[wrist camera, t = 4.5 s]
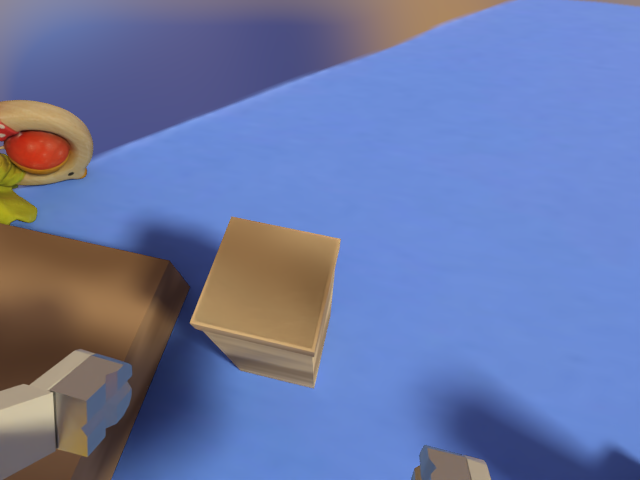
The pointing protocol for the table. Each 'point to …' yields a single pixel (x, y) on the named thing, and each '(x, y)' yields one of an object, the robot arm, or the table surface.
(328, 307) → the beech post
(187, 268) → the table surface
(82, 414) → the robot arm
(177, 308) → the pedestal
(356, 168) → the table surface
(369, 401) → the table surface
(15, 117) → the bird rattle
